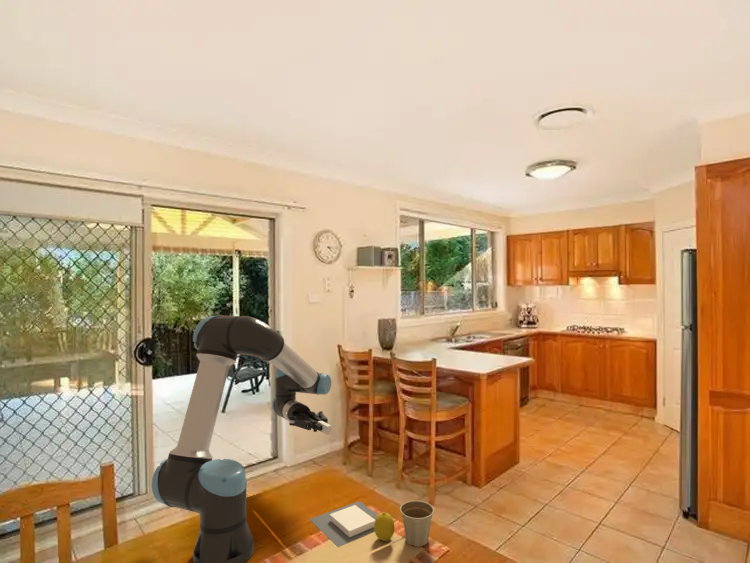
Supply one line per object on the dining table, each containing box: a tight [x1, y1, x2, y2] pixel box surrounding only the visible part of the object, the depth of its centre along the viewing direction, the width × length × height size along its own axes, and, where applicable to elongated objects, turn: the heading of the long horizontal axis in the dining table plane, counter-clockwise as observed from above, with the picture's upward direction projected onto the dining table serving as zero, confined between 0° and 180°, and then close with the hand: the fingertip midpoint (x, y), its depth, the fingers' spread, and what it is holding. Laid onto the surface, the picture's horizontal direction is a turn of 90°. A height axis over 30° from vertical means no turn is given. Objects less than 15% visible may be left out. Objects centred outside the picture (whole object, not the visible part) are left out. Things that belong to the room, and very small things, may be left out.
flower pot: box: [399, 500, 435, 547], centre depth 120 cm, size 9×9×9 cm
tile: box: [330, 505, 375, 538], centre depth 127 cm, size 9×2×11 cm
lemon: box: [374, 511, 395, 542], centre depth 120 cm, size 6×6×8 cm
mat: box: [308, 500, 379, 548], centre depth 129 cm, size 18×17×1 cm
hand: (329, 430), depth 138 cm, fingers closed
